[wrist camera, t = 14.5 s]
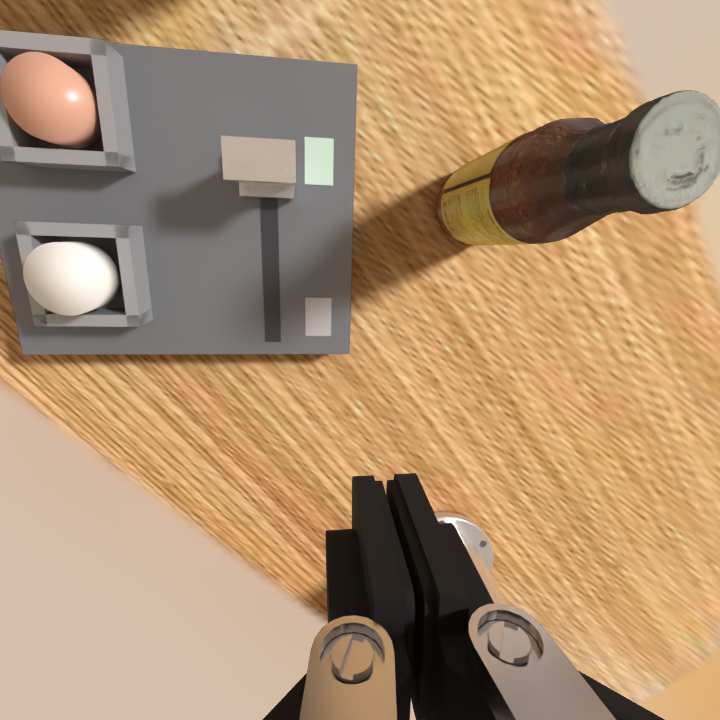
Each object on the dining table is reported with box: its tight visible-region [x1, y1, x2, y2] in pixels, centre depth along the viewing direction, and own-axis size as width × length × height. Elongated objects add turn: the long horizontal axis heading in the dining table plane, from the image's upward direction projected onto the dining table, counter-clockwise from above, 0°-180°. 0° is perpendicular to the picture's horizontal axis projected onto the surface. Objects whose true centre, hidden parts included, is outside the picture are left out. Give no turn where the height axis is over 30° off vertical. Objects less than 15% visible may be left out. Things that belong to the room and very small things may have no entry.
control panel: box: [0, 30, 357, 355], centre depth 29 cm, size 20×24×6 cm
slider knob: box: [221, 136, 296, 200], centre depth 26 cm, size 3×4×6 cm
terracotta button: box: [1, 52, 102, 149], centre depth 24 cm, size 4×4×2 cm
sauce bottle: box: [437, 90, 720, 245], centre depth 24 cm, size 7×6×20 cm
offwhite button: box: [23, 241, 120, 316], centre depth 26 cm, size 4×4×2 cm
